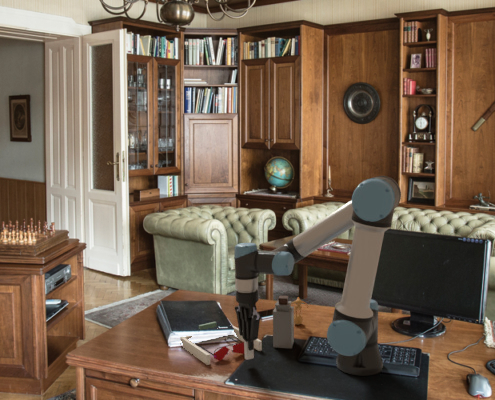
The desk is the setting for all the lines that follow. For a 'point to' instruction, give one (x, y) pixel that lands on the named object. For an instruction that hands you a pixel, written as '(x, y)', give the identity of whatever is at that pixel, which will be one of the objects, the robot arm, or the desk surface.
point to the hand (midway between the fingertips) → (249, 358)
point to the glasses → (224, 350)
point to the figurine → (298, 318)
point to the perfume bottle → (283, 323)
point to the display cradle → (203, 354)
